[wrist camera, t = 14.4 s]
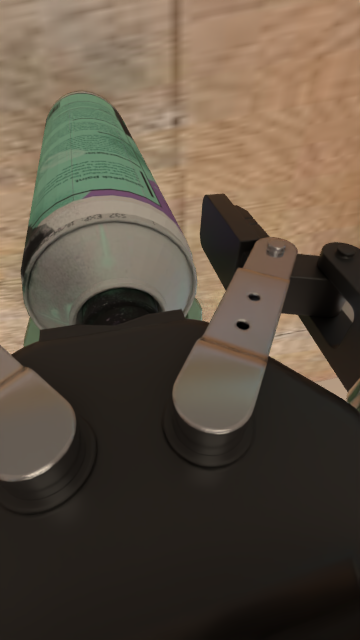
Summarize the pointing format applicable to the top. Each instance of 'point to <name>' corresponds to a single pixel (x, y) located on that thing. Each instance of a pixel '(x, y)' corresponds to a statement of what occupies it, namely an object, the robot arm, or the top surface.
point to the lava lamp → (348, 311)
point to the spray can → (99, 226)
